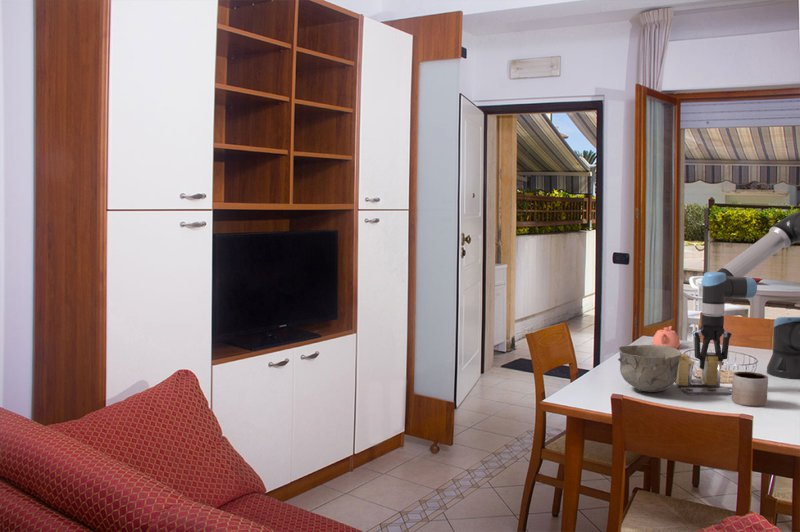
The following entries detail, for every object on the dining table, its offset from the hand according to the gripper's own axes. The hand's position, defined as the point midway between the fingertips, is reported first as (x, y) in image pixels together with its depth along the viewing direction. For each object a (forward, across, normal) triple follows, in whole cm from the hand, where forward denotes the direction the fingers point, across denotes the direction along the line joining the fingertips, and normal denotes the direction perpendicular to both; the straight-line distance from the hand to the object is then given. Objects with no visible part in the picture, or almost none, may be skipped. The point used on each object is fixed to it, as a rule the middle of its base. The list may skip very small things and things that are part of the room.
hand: (709, 377), depth 263 cm
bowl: (+4, +24, +6) cm, 25 cm away
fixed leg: (+2, +10, +3) cm, 11 cm away
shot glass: (+4, +6, -9) cm, 12 cm away
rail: (+4, +4, 0) cm, 6 cm away
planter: (+4, -5, +20) cm, 21 cm away
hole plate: (+4, +4, +8) cm, 9 cm away
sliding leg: (+2, 0, +3) cm, 4 cm away
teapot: (+4, -10, -74) cm, 75 cm away
